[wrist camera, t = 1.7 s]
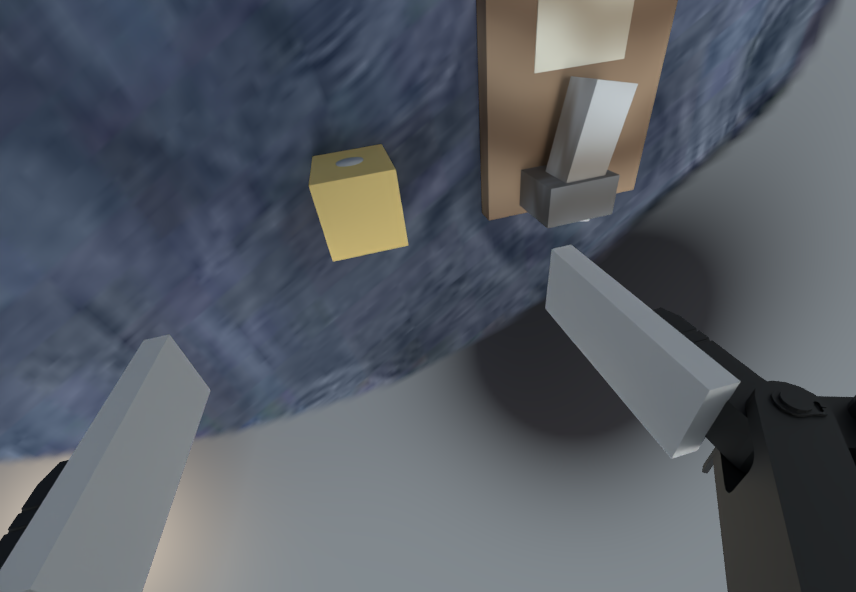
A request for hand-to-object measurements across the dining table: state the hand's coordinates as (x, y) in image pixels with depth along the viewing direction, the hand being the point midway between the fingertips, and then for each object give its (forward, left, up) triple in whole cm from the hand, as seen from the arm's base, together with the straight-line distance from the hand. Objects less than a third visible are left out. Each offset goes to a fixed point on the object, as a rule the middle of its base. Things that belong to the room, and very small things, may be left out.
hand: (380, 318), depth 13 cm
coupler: (0, 0, -15) cm, 15 cm away
